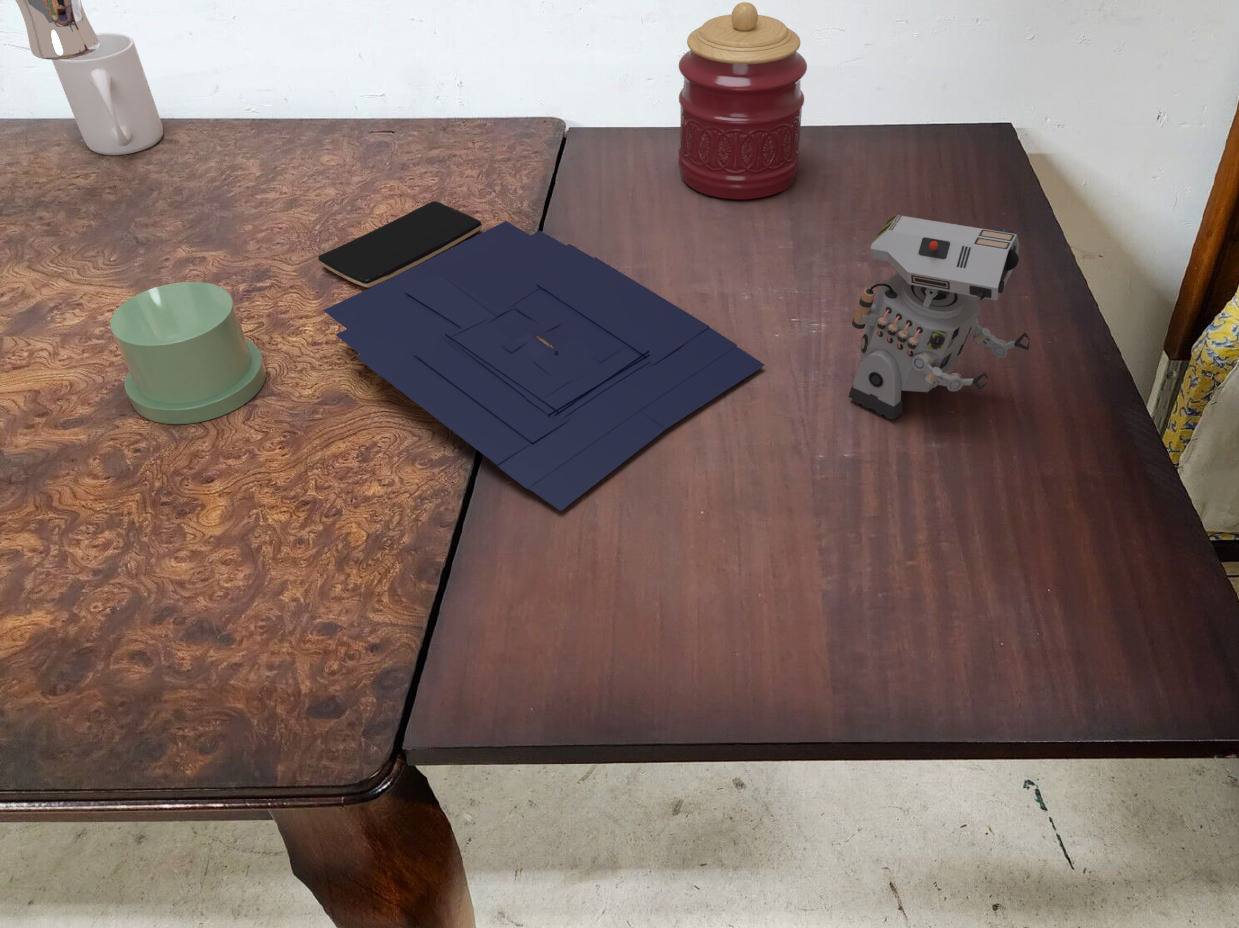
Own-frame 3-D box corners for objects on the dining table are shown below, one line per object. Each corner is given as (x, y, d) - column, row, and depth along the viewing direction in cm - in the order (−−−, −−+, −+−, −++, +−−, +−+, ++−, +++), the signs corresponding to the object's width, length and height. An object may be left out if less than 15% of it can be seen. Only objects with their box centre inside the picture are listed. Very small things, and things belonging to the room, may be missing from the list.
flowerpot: (119, 432, 84) (85, 358, 79) (142, 355, 91) (112, 284, 87) (261, 415, 85) (236, 341, 80) (271, 340, 93) (249, 269, 88)
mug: (89, 175, 117) (50, 77, 110) (85, 133, 125) (48, 39, 118) (171, 160, 120) (138, 63, 112) (162, 120, 128) (130, 27, 120)
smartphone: (314, 256, 101) (434, 199, 109) (317, 267, 102) (436, 209, 110) (363, 282, 97) (484, 220, 106) (366, 293, 98) (485, 231, 106)
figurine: (955, 454, 80) (996, 281, 70) (832, 394, 86) (852, 225, 76) (1015, 400, 85) (1061, 230, 75) (894, 346, 91) (921, 181, 81)
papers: (521, 238, 103) (520, 204, 100) (762, 388, 91) (769, 355, 88) (309, 345, 90) (301, 310, 87) (557, 538, 77) (557, 504, 75)
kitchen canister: (733, 138, 122) (739, -27, 110) (822, 173, 115) (839, 1, 103) (653, 176, 115) (650, 4, 103) (744, 214, 109) (752, 36, 97)
